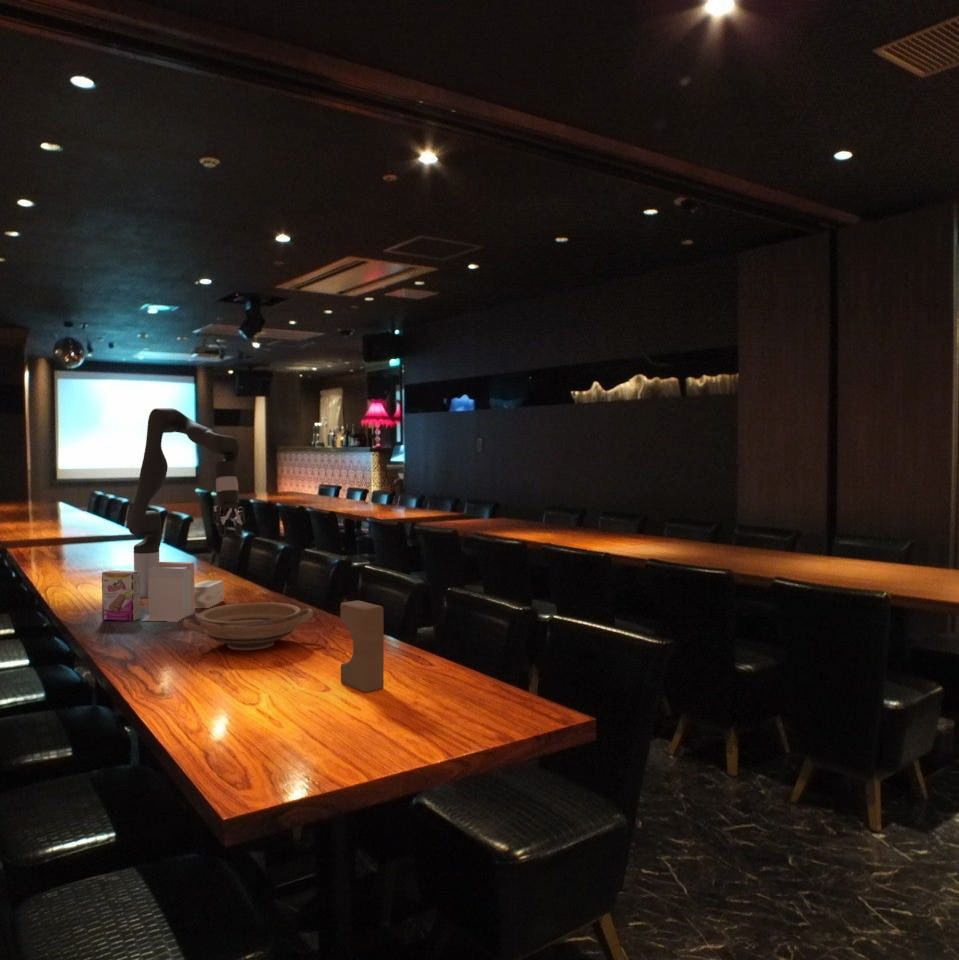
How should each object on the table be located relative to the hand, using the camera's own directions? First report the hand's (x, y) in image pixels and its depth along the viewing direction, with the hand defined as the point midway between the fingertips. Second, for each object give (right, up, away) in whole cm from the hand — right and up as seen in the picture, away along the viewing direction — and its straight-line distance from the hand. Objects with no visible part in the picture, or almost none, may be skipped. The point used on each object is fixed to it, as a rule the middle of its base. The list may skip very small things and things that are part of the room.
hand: (230, 535), depth 278 cm
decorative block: (+59, -31, -86) cm, 109 cm away
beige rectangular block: (-13, -27, +12) cm, 32 cm away
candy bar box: (-32, -28, -14) cm, 45 cm away
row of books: (-18, -27, -9) cm, 34 cm away
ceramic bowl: (+21, -29, -47) cm, 59 cm away
